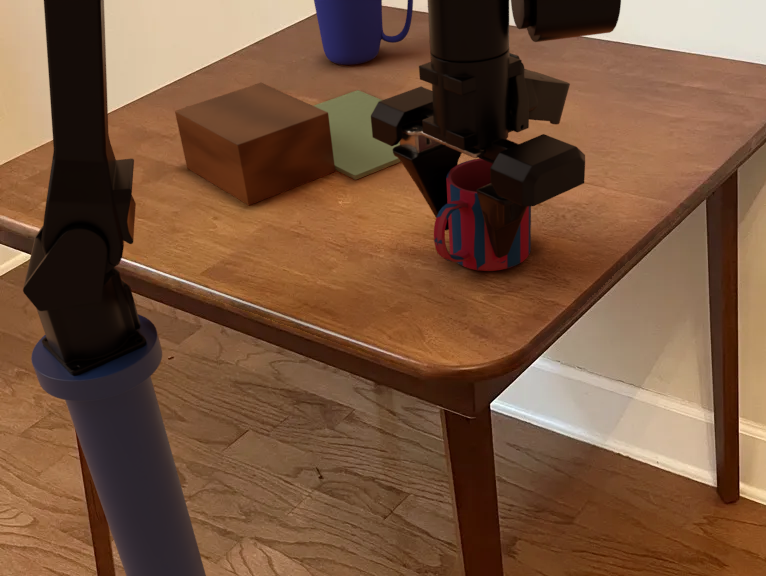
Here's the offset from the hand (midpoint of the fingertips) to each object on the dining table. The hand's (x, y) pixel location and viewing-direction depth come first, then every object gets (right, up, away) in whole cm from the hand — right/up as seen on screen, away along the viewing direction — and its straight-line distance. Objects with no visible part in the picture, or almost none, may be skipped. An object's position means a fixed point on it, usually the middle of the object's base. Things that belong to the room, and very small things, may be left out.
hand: (475, 241), depth 83 cm
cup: (0, -1, +1) cm, 2 cm away
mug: (-10, +30, +42) cm, 53 cm away
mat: (-11, +16, +24) cm, 30 cm away
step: (-20, +10, +18) cm, 29 cm away
